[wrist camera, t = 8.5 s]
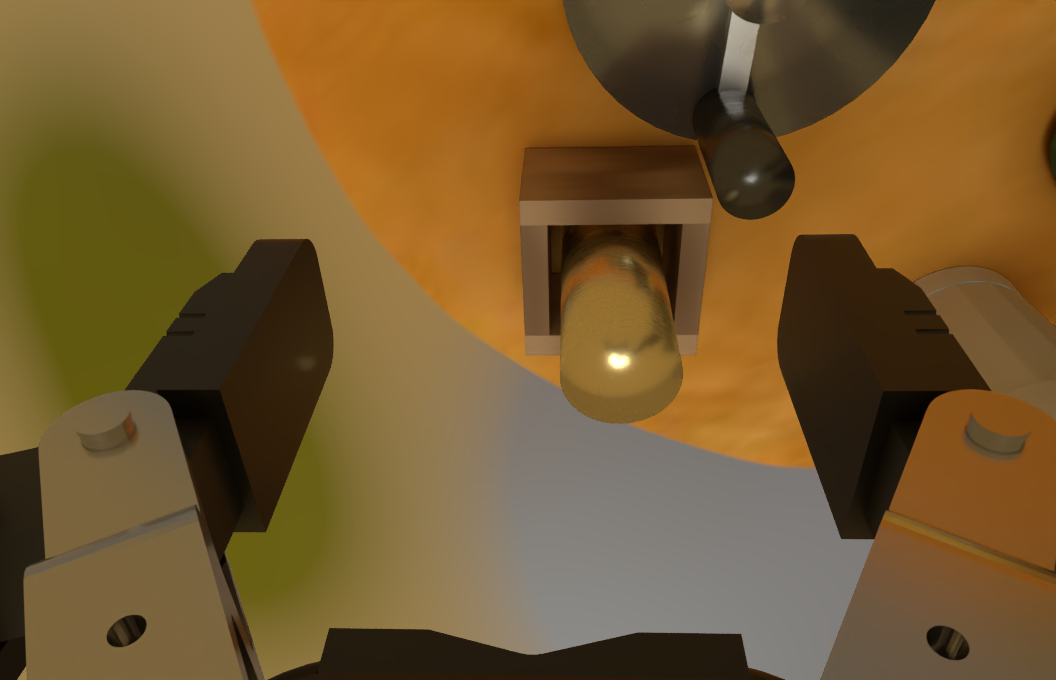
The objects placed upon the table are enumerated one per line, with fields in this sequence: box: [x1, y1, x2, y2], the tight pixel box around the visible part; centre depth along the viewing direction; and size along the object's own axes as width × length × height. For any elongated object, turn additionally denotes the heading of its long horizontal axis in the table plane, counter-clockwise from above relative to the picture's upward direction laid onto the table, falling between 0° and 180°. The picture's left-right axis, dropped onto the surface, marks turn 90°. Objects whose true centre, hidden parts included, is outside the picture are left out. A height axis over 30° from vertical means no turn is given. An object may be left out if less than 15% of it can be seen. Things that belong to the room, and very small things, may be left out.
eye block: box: [519, 146, 713, 355], centre depth 33 cm, size 7×7×5 cm
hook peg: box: [560, 224, 683, 424], centre depth 31 cm, size 4×4×11 cm
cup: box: [913, 266, 1056, 421], centre depth 33 cm, size 8×8×12 cm
